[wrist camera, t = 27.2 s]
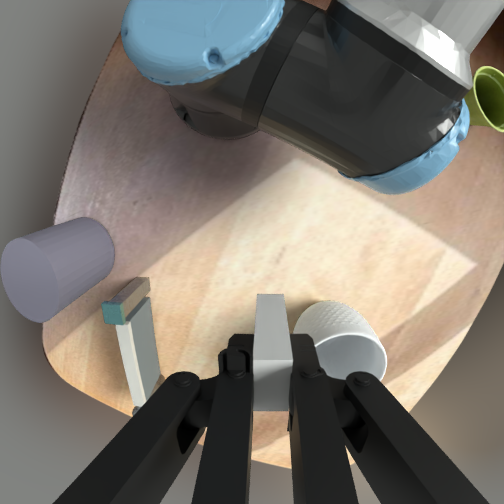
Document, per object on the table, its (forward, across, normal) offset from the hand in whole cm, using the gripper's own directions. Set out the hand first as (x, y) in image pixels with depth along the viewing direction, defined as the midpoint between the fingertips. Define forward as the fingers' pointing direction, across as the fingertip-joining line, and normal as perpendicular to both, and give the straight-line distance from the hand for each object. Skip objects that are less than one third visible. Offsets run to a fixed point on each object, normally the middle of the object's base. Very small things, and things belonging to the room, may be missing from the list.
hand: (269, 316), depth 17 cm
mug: (+25, +8, -14) cm, 29 cm away
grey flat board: (+24, -18, -16) cm, 34 cm away
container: (+25, -27, -2) cm, 37 cm away
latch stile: (+24, -18, -8) cm, 31 cm away
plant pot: (+25, +31, +21) cm, 45 cm away
